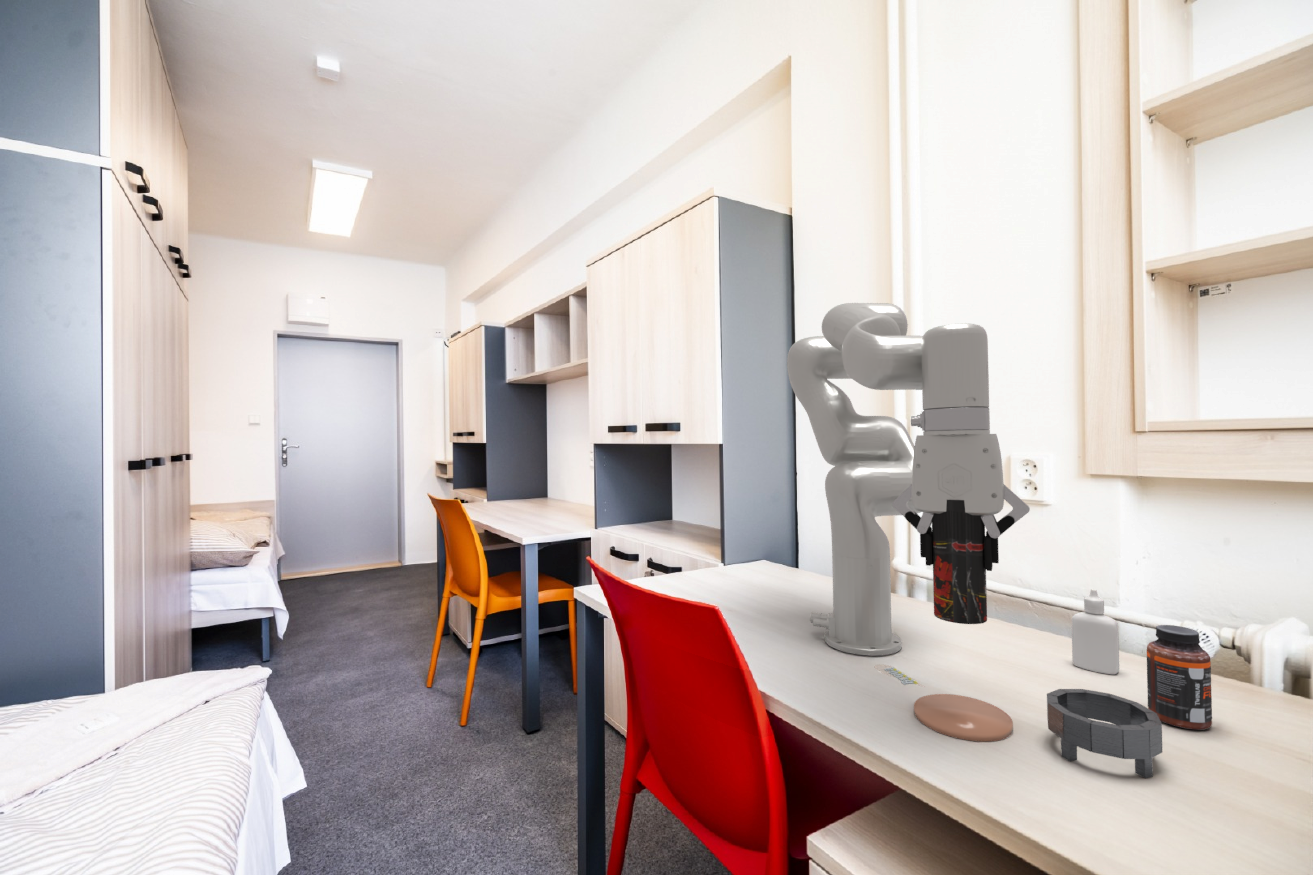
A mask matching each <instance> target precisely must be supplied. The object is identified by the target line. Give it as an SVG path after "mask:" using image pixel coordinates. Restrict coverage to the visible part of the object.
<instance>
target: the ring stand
mask: <svg viewBox="0 0 1313 875" xmlns="http://www.w3.org/2000/svg"><path fill="white" fill-rule="evenodd" d="M1046 715H1047V716H1046V717H1047V718H1046V720H1047V729H1048V730H1049V731H1050V732H1052V733H1053V734H1054V735H1056V736H1057V737H1058V738H1060V744H1061V745H1060V749H1061V752H1060V753H1061V754H1060V755H1061V758H1064V759H1065V760H1067V761H1068V762H1073V761H1077V760H1078V748H1081V749H1083V750H1085V751H1088V752H1090V753H1094V754H1099V755H1103V756H1108V757H1113V758H1117V759H1121V760H1134V773H1135V774H1136V775H1138V776H1140V777H1142V778H1143V779H1150V778H1153V775H1154V774H1153V772H1154V771H1153V758H1155V757H1157V756H1159V755H1160V754H1163V724H1162V723H1163V722H1161V721H1160V719H1159V717H1158V715H1157V714H1156V713H1155V712H1153V711H1152V710H1150V709H1148V707H1146V706H1144V705H1142V704H1141V703H1139V702H1137V701H1134V700H1131V699H1128V698H1126V697H1125V698H1124V697H1122V696H1119V695H1116V694H1112V693H1108V692H1102V691H1096V690H1091V689H1084V688H1058V689H1055V690H1053V691H1050V692H1047V693H1046Z"/></svg>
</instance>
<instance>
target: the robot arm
mask: <svg viewBox="0 0 1313 875" xmlns="http://www.w3.org/2000/svg"><path fill="white" fill-rule="evenodd" d="M907 319H908V318H907V316H906V314H905V312H904V311H903V310H902V308H901V307H899V306H898V305H897V304H894V303H888V302H887V303H885V302H884V303H883V302H882V303H881V302H880V303H878V302H874V303H873V302H846V303H841V304H838V305H835V306H834V307H832V308H831V309H830V310H828V311H827V312H826V314H825V315H824V317H823V319H822V322H821V331H822V335H819V336H818V335H817V336H809V337H803V338H801V339H799V340H797V341H795V342H794V343H793V344H792V345H791V347H789V351H788V353H787V359H786V366H787V376H788V379H789V384H790V386H791V389H792V391H793V393H794V395H795V396H796V398H797V400H798V402H799V403H800V404H801V406H802V407H803V409H804V410H805V412H806V415H807V417H808V418H809V423H810V425H811V428H812V431H813V434H814V437H815V440H816V443H817V446H818V448H819V451H820V454H821V455H822V458H823V459H824V460H825V462H826V463H827V464H829V465H831V466H833V467H832V468H831V469H830V470H829V471H828V473H827V475H826V476H825V481H824V491H825V498H826V501H827V507H828V512H829V519H830V528H831V529H830V530H831V531H830V532H831V553H832V554H831V559H832V560H831V561H832V562H831V563H832V608H833V611H832V613H831V612H829V613H828V614H825V613H824V614H823V613H821V612H814V611H812V612H810V614H809V616H810V617H809V618H810V619H809V621H810V623H812V626H813V627H819V628H825V629H826V631H825V633H824V641H825V643H826V644H827V645H828V646H830V647H831V648H833V649H835V650H838V651H840V652H844V653H847V654H853V655H859V656H872V657H873V656H874V657H877V656H888V655H892V654H896V653H898V652H899V651H901V649H902V639H901V638H900V637H899V636H898V635H896V634H895V633H893V632H892V593H891V592H892V590H891V589H892V588H891V585H892V584H891V549H890V548H891V547H890V546H891V545H890V541H889V539H888V536H887V535H886V533H885V532H884V530H883V528H881V526H880V525H879V523H878V522H877V520H876V517H886V516H889V517H891V516H902V517H904V519H905V520H906V521H907V522H908V523H910V525H912V527H914V528H915V530H916V531H917V533H918V534H919V546H920V550H919V552H920V558H925V566H930V567H931V566H933V543H932V518H933V513H936V514H940V513H943V512H946V505H947V500H964V504H965V512H966V513H968V514H971V515H981V518H982V521H983V523H984V525H985V530H986V531H985V538H984V554H985V569H986V572H988V571H989V572H992V570H993V566H994V565H993V564H999V560H1000V559H999V537H1001V535H1003V534H1004V533H1005V532H1006V531H1007V530H1009V529H1010V528H1011V527H1012V526H1013V525H1014V524H1015V523H1017V522H1018V521H1019V520H1021V519H1022V518H1023V517H1025V516H1026V515H1027V514H1029V512H1030V511H1031V510H1030V506H1029V505H1028V504H1027V503H1026V502H1025V501H1024V500H1023V499H1021V498H1020V497H1019V496H1018V495H1017V494H1015V492H1014V491H1013V490H1011V489H1010V488H1009V487H1007V485H1005V484H1004V473H1003V472H1004V471H1003V463H1002V462H1003V461H1002V459H1003V458H1002V453H1001V452H1002V451H1001V448H1000V443H999V439H998V435H997V433H991V425H990V424H991V422H990V420H991V418H990V384H989V381H990V380H989V379H990V378H989V344H988V343H989V340H988V334H987V330H986V329H985V328H984V327H983V326H982V325H980V324H975V323H951V324H944V325H939V326H936V327H932V328H929V329H928V330H927V331H925V333H923V335H907V333H908V328H909V327H908V326H909V324H908V320H907ZM830 379H831V380H839V379H840V380H843V379H844V380H846V379H849V380H850V379H852V380H853V381H855V382H856V383H858V384H859V385H861V386H862V387H866V388H868V389H871V390H877V391H891V390H892V391H895V390H897V391H898V390H899V391H901V390H903V391H904V390H905V391H906V390H907V391H908V390H910V391H911V390H915V391H922V410H921V413H919V414H917V415H916V416H915V415H914V416H913V415H912V416H910V426H911V427H917V428H920V429H921V431H923V432H922V434H921V435H918V434H917V435H916V437H915V440H914V441H915V442H914V441H913V440H912V438H911V436H910V434H909V432H908V430H907V428H906V427H905V425H904V424H903V423H902V422H900V420H898V419H896V418H895V417H892V416H887V415H862V414H858V413H857V412H856V410H855V408H854V406H853V404H852V401H851V398H850V397H849V396H848V395H847V393H846V392H844V390H842V389H841V388H840V387H839V386H837V385H836V384H834V383H833V382H831V381H830ZM1005 501H1006V503H1007V504H1009V505H1010V506H1011V507H1012V509H1011V510H1010V511H1009V512H1008V513H1007V514H1006V515H1004V516H1003V517H1002V518H1000V520H998V521H997V518H996V516H995V515H997V514H998V513H1000V512H1001V511H1002V510H1003V509H1004V505H1005ZM920 513H922V515H921V516H920V515H919V514H920Z"/></svg>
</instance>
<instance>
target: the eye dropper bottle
mask: <svg viewBox="0 0 1313 875" xmlns="http://www.w3.org/2000/svg"><path fill="white" fill-rule="evenodd" d="M1083 603H1084V604H1083V606H1084V607H1083V608H1084V609H1083V610H1084V611H1081V612H1077V613H1075V614H1073V615H1072V617H1071V649H1072V650H1071V653H1072V655H1071V656H1072V658H1071V659H1072V664H1073V665H1074V666H1076V667H1078V668H1079V669H1083V670H1085V671H1086V670H1087V671H1090V672H1094V673H1098V674H1106V675H1116V674H1118V673H1119V671H1120V639H1119V638H1120V637H1119V636H1120V633H1119V625H1118V622H1117V620H1115V619H1114V618H1112V617H1111V616H1108V615H1106V614H1105V600H1104V599H1103V598H1100V596H1099V594H1098V591H1097V589H1094V588H1093V589H1090V592H1089V595H1088V596H1086V597H1084V598H1083Z"/></svg>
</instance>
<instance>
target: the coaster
mask: <svg viewBox="0 0 1313 875" xmlns="http://www.w3.org/2000/svg"><path fill="white" fill-rule="evenodd" d="M913 713H914V717H915V718H916V719H917V720H918V721H919V722H920V723H922V725H924V726H926V727H927V728H928V729H931V730H932V731H935V732H937V733H939V734H942V735H945V736H948V737H952V738H955V739H960V740H963V741H964V740H966V741H970V742H971V741H972V742H985V743H986V742H988V743H989V742H997V741H1003V740H1005V739H1008V738H1009V737H1010V736H1011V735H1012V734H1013V731H1014V723H1013V719H1012V716H1010V715H1009V714H1008V713H1007V712H1006V711H1004V710H1003V709H1001V708H1000V707H998V706H995V705H994V704H991V703H990V702H988V701H985V700H981V699H978V698H974V697H971V696H970V697H969V696H966V695H960V694H951V693H950V694H949V693H935V694H927V695H924V696H921V697H919V698H917V699H916V700H915V702H914V704H913Z"/></svg>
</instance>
